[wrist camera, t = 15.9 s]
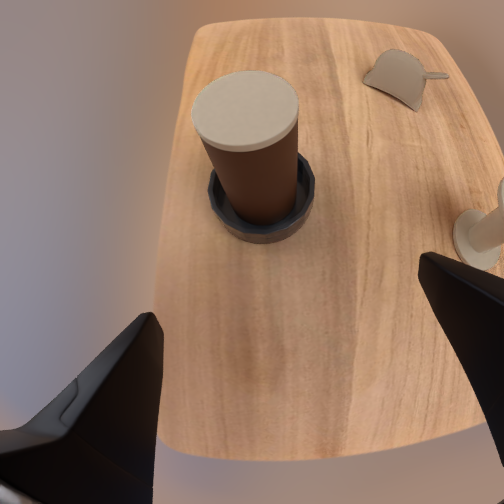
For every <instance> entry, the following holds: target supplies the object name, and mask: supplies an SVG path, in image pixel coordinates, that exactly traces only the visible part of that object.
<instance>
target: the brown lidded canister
mask: <svg viewBox="0 0 504 504" xmlns="http://www.w3.org/2000/svg"><path fill="white" fill-rule="evenodd" d="M298 115H299V99H298V96H297V93H296V91H295V90H294V88H293V87H292V86H291V85H290V84H289V83H288V82H287V81H286V80H285V79H283V78H281V77H279V76H277V75H275V74H272V73H269V72H264V71H256V70H248V71H239V72H234V73H230V74H227V75H225V76H222V77H220V78H218V79H216V80H214V81H213V82H211V83H210V84H208V85H207V86H206V87H205V88H204V89H203V90H202V91H201V92H200V93H199V94H198V96H197V97H196V99H195V101H194V104H193V107H192V113H191V117H192V122H193V125H194V127H195V129H196V131H197V133H198V135H199V136H200V138H201V140H202V142H203V144H204V147H205V149H206V151H207V153H208V155H209V158H210V160H211V162H212V164H213V167H214V169H215V171H216V173H217V175H218V178H219V180H220V182H221V184H222V186H223V189H224V191H225V193H226V195H227V197H228V200H229V202H230V204H231V206H232V208H233V210H234V212H235V213H236V215H237V216H238V217H239V218H241V219H242V220H244V221H245V222H247V223H250V224H253V225H270V224H274V223H277V222H279V221H281V220H282V219H284V218H285V217H286V216H287V215H288V214H289V213H290V212H291V210H292V209H293V207H294V205H295V202H296V195H297V157H298Z"/></svg>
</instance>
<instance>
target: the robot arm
mask: <svg viewBox="0 0 504 504" xmlns="http://www.w3.org/2000/svg"><path fill="white" fill-rule="evenodd" d="M418 279H419V282H420V284H421V286H422V288H423V290H424V292H425V294H426V297H427V299H428V301H429V303H430V305H431V308H432V310H433V312H434V314H435V316H436V318H437V320H438V322H439V323H440V325H441V327H442V329H443V331H444V332H445V334H446V336H447V338H448V340H449V342H450V343H451V345H452V347H453V349H454V351H455V353H456V355H457V357H458V359H459V361H460V363H461V365H462V367H463V369H464V371H465V373H466V375H467V377H468V379H469V381H470V384H471V386H472V388H473V390H474V392H475V394H476V397H477V399H478V401H479V404H480V406H481V408H482V411H483V413H484V415H485V418H486V421H487V423H488V426H489V429H490V431H491V434H492V437H493V439H494V442H495V445H496V447H497V451H498V453H499V457H500V459H501V463H502V465H503V467H504V279H503V278H500V277H498V276H495V275H493V274H490V273H488V272H485V271H483V270H480V269H477V268H475V267H472V266H470V265H467V264H464V263H462V262H459V261H456V260H454V259H451V258H448V257H446V256H443V255H440V254H437V253H434V252H427V253H423V254H421V256H420V260H419V270H418ZM163 351H164V333H163V330H162V328H161V326H160V324H159V322H158V320H157V318H156V316H155V315H154V313H152V312H147V313H142V314H140V315H139V316H138V317H137V318H136V319H135V320H134V321H133V322H132V323H131V324H130V325H129V326H128V327H127V328H125V329H124V330H123V331H122V332H121V333H120V334H119V335H118V336H117V337H116V338H115V339H114V340H113V341H112V342H111V343H110V344H109V345H108V346H107V347H106V348H105V349H104V350H103V351H102V352H101V353H100V354H99V355H98V356H97V357H96V358H95V359H94V360H93V361H92V362H91V363H90V364H89V365H88V366H87V367H86V368H85V369H84V370H83V371H82V372H81V373H80V374H79V375H78V376H77V378H75V379H74V380H73V381H72V382H71V383H70V384H69V385H68V386H67V387H66V388H65V389H64V390H63V391H62V392H61V393H60V394H59V395H58V396H57V397H56V398H54V399H53V400H52V401H51V402H50V403H49V404H48V405H47V406H46V407H44V408H43V409H42V410H41V411H40V412H39V413H38V414H37V415H35V416H34V417H33V418H32V419H31V420H30V421H29V422H27V423H26V424H25V425H23V426H22V427H19V428H16V429H12V430H3V431H0V504H152V502H153V501H152V499H153V488H152V487H153V477H154V461H155V446H156V435H157V425H158V414H159V405H160V396H161V388H162V379H163ZM498 504H504V500H502V501H501V502H499V503H498Z"/></svg>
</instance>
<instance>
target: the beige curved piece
mask: <svg viewBox="0 0 504 504" xmlns="http://www.w3.org/2000/svg"><path fill="white" fill-rule="evenodd" d="M448 78H449V75H448V74H446V73H439V72H426V71H425V69H424V66H423V65H422V64H421V62H420V61H419V59H417V58H415V57H414V56H413V55H411V54H409V53H407V52H405V51H401V50H397V49H391V50H387V51H385V52H383V53H382V54H381V55H380V56H379V57H378V59H377V60H376V63H375V65H374V68H373V69H372V70H371V71H369V72H368V73H367V75H366V76H365V79H364V82H363V83H364V84H367V85H370V86H373V87H376V88H378V89H381V90H383V91H385V92H387V93H389V94H391V95H393V96H395V97H397V98H398V99H400V100H401V101H403V102H404V103H405V104H407V105H408V106H409V107H410V108H412V109H413V110H414V111H416V112H417V111H418V109H419V107H420V105H421V103H422V94H423V91H424V88H425V84H426V79H448Z"/></svg>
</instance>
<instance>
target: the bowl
mask: <svg viewBox="0 0 504 504" xmlns="http://www.w3.org/2000/svg"><path fill="white" fill-rule="evenodd" d="M314 188H315V177H314V175H313V172H312V170H311V168H310V166H309V163H308V161H307V160H306V159H305V158H304V157H303V156H302V155H301V154H299V153H298V157H297V195H296V202H295V205H294V207H293V209H292V210H291V212H290V213H289V214H288V215H287V216H286V217H285V218H284V219H282V220H281V221H279V222H277V223H274V224H270V225H253V224H250V223H247V222H245V221H244V220H242V219H241V218H239V217H238V216H237V215H236V213H235V212H234V210H233V208H232V206H231V204H230V202H229V200H228V197H227V195H226V193H225V191H224V189H223V186H222V184H221V182H220V180H219V178H218V175H217V173H216V171H215V169H213V171H212V172H211V176H210V181H209V186H208V194H209V198H210V202H211V206H212V209H213V211H214V213H215V214H216V216H217V217H218V219H219V220H220V221H221V223H222V224H223V225H224V227H225V228H226V229H227V230H228V231H229V232H230V233H232V234H233V235H234V236H236V237H238V238H239V239H242V240H244V241H247V242H251V243H257V244H268V243H274V242H278V241H281V240H283V239H286V238H288V237H289V236H291V235H293V234H294V233H295V232H297V231H298V230H299V229H300V228H301V227H302V225H303V224H304V223H305V221H306V220H307V218H308V216H309V214H310V211H311V209H312V207H313V201H314Z"/></svg>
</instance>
